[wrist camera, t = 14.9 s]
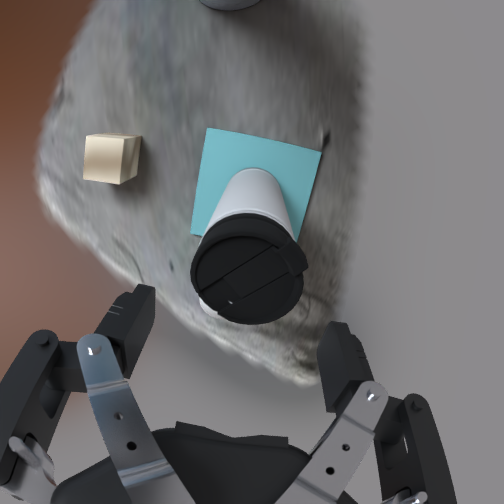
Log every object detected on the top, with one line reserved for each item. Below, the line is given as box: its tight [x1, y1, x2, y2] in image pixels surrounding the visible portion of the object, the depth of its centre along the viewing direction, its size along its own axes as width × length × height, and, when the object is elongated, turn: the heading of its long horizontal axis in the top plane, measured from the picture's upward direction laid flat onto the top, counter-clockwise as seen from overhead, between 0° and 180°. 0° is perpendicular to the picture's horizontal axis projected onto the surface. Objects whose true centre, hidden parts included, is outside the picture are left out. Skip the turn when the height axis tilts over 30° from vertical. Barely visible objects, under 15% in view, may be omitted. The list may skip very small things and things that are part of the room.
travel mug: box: [190, 167, 308, 325], centre depth 24 cm, size 6×7×20 cm
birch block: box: [83, 133, 142, 184], centre depth 29 cm, size 5×5×5 cm
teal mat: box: [190, 128, 321, 243], centre depth 33 cm, size 13×13×1 cm
